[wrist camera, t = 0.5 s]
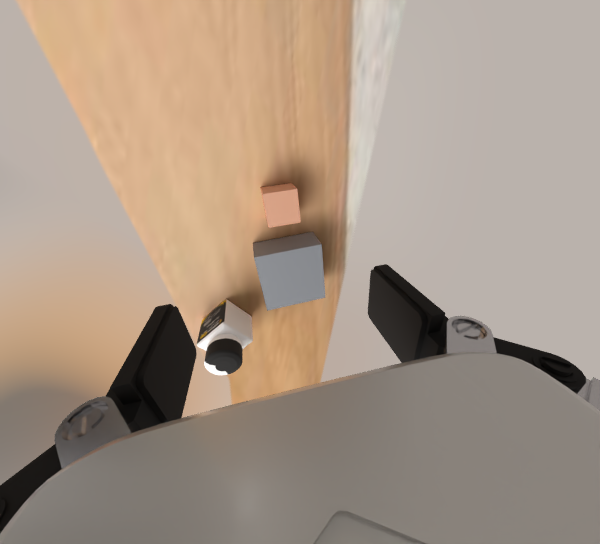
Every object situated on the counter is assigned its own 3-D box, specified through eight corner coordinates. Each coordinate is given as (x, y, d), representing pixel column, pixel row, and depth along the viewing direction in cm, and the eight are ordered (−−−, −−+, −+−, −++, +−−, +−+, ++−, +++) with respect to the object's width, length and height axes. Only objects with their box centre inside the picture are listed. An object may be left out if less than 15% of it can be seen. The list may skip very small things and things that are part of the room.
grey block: (252, 242, 41) (254, 257, 36) (312, 231, 42) (321, 244, 37) (264, 291, 47) (267, 310, 42) (316, 280, 48) (325, 297, 43)
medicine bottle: (226, 297, 45) (221, 344, 35) (252, 316, 49) (254, 363, 39) (201, 319, 47) (190, 370, 37) (228, 335, 50) (225, 385, 40)
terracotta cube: (260, 187, 36) (262, 194, 32) (291, 182, 37) (297, 188, 33) (265, 217, 39) (268, 227, 35) (294, 213, 40) (300, 222, 35)
